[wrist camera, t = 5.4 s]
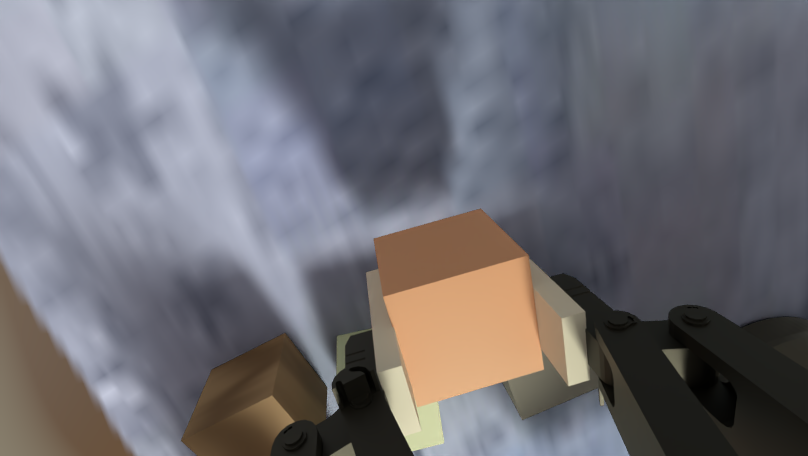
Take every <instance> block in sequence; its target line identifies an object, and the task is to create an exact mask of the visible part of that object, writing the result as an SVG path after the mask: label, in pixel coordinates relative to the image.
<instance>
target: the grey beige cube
mask: <svg viewBox="0 0 808 456" xmlns="http://www.w3.org/2000/svg"><path fill="white" fill-rule="evenodd" d="M541 351H542V350H541ZM542 359H543V366H544V370H541V371H538V372H534V373H531V374H528V375H524V376H521V377H517V378H514V379H511V380H507V381H504V382H502V383H503V385H504V386H505V388H506V390H507V392H508V394H509V396H510V398H511V400H512V402H513V403H514V405H515V407H516V409H517V411H518V413H519V415H520V417H521V419H522V420H524V419H526V418H528V417H531V416H533V415H535V414H538V413H540V412H542V411H545V410H547V409H550V408H552V407H554V406H557V405H559V404H561V403H564V402H566V401H568V400H571V399H573V398H575V397H578V396H580V395H582V394H585V393H587V392H589V391H592V390H594V389H596V388H599V387H598V375H597V374H596V373H595V372H594V371H593V370H592V368H591V367H590V366H589V368H590V380H588V381H585V382H581V383H578V384H575V385H571V386H568V385H567V384H566V382H565V381H564V379H563V378H562V377H561V375H560V374H559V373H558V371H557V370H556V369H555V367H554V366H553V365H552V363H551V362H550V360H549V359H548V358H547V356H546V355H545V354H544V352H543V351H542Z"/></svg>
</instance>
